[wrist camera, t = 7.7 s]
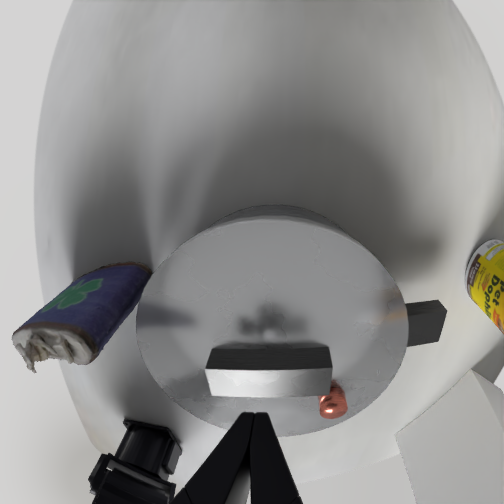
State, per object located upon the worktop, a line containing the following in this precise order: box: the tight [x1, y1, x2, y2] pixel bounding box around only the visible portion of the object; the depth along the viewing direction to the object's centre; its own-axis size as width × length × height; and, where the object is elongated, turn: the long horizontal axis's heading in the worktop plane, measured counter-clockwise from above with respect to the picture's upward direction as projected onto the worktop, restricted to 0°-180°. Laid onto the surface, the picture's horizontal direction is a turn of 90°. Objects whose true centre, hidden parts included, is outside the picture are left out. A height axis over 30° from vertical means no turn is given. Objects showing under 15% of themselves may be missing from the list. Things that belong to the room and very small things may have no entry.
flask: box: [12, 262, 153, 373], centre depth 16 cm, size 9×3×11 cm, turn 106°
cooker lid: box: [136, 215, 409, 437], centre depth 14 cm, size 15×15×3 cm
